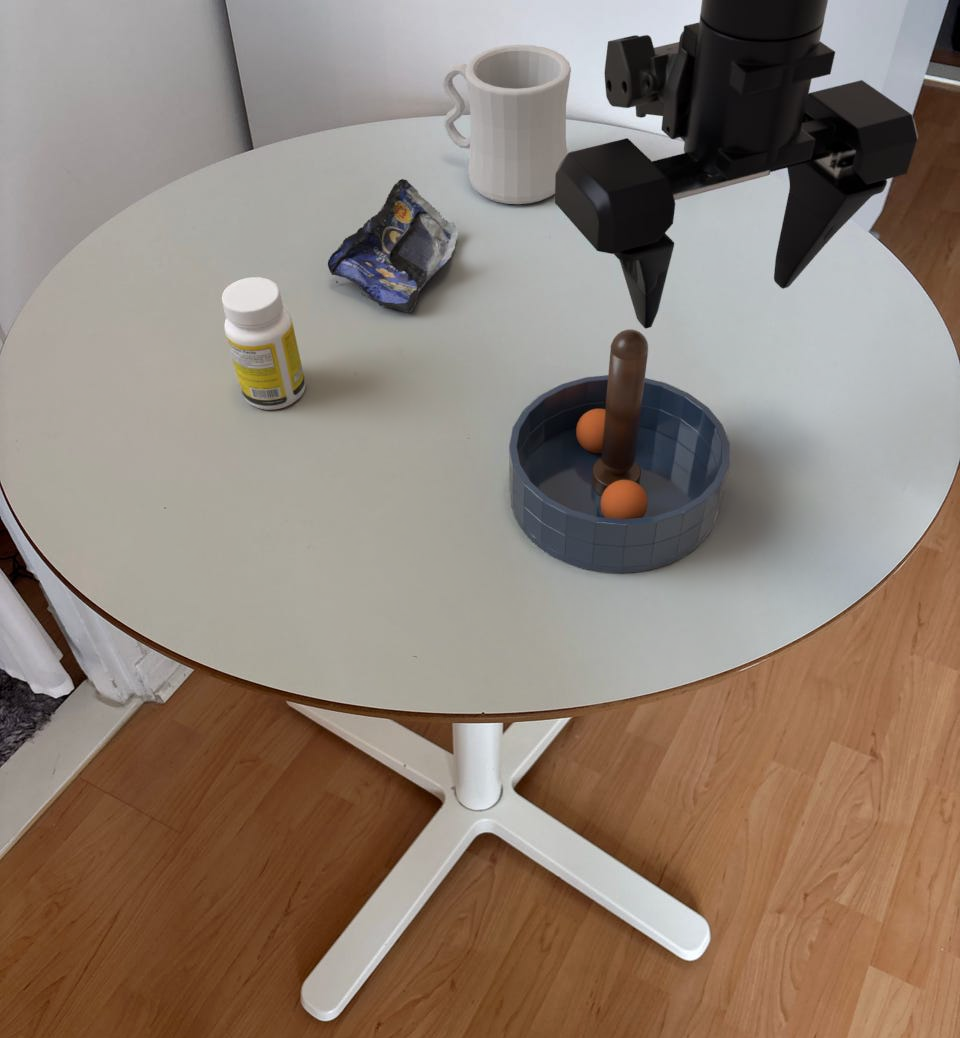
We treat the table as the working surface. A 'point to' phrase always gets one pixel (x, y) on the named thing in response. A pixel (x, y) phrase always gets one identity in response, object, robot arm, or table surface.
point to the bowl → (664, 477)
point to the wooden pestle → (622, 411)
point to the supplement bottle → (262, 343)
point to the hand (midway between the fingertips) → (713, 304)
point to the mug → (512, 120)
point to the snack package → (396, 249)
